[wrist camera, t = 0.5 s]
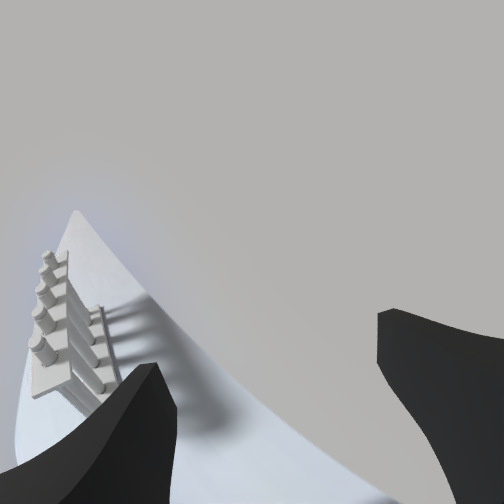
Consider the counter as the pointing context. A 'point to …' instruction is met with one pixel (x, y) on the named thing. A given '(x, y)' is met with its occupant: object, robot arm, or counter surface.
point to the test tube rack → (69, 342)
